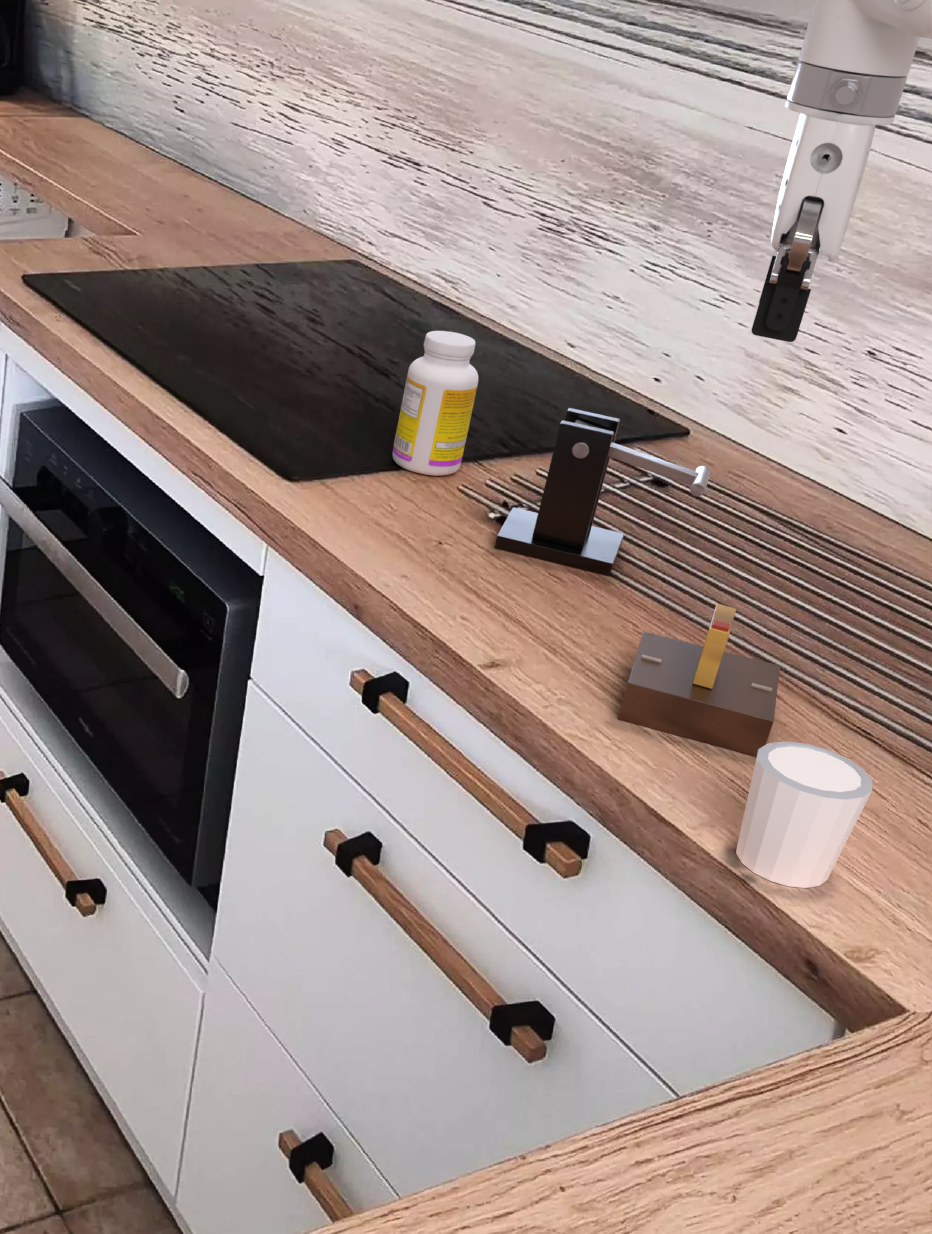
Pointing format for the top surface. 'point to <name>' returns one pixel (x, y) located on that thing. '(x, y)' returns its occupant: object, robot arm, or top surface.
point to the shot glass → (800, 812)
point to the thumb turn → (714, 646)
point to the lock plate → (701, 695)
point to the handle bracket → (569, 501)
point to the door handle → (660, 466)
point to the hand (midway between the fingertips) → (775, 323)
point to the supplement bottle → (437, 406)
